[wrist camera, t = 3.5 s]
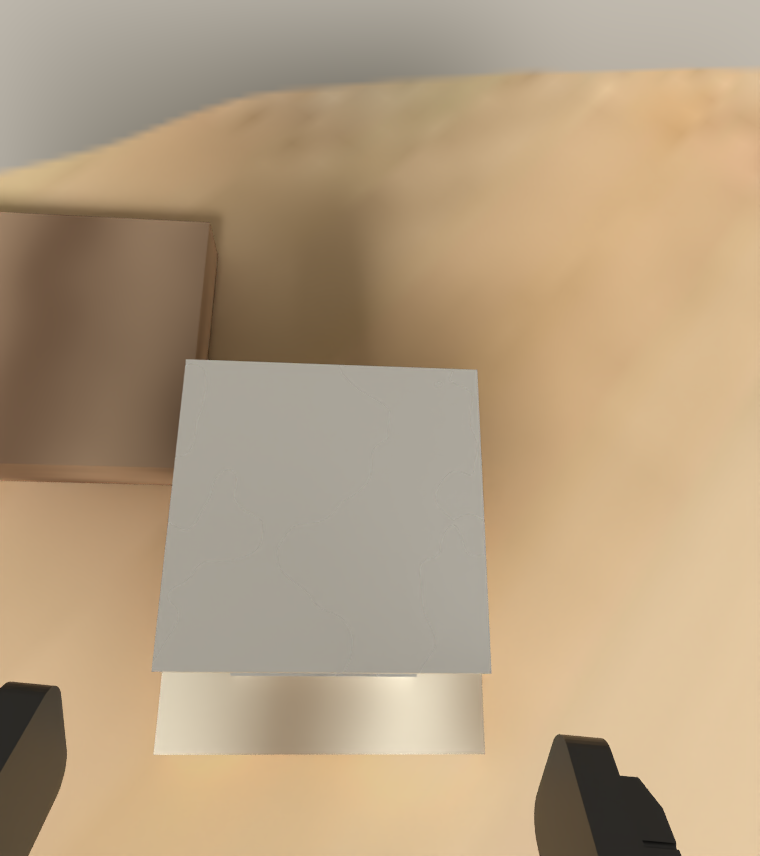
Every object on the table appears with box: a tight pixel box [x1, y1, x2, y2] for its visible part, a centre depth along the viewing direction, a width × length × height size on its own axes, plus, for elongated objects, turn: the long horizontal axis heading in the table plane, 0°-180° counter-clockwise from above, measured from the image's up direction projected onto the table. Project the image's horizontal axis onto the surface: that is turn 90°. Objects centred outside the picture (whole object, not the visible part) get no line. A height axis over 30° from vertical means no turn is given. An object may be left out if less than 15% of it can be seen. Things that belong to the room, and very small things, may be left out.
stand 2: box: [154, 672, 485, 755], centre depth 21 cm, size 9×9×2 cm
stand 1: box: [0, 212, 218, 485], centre depth 24 cm, size 9×9×2 cm
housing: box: [152, 359, 491, 677], centre depth 16 cm, size 5×5×10 cm
